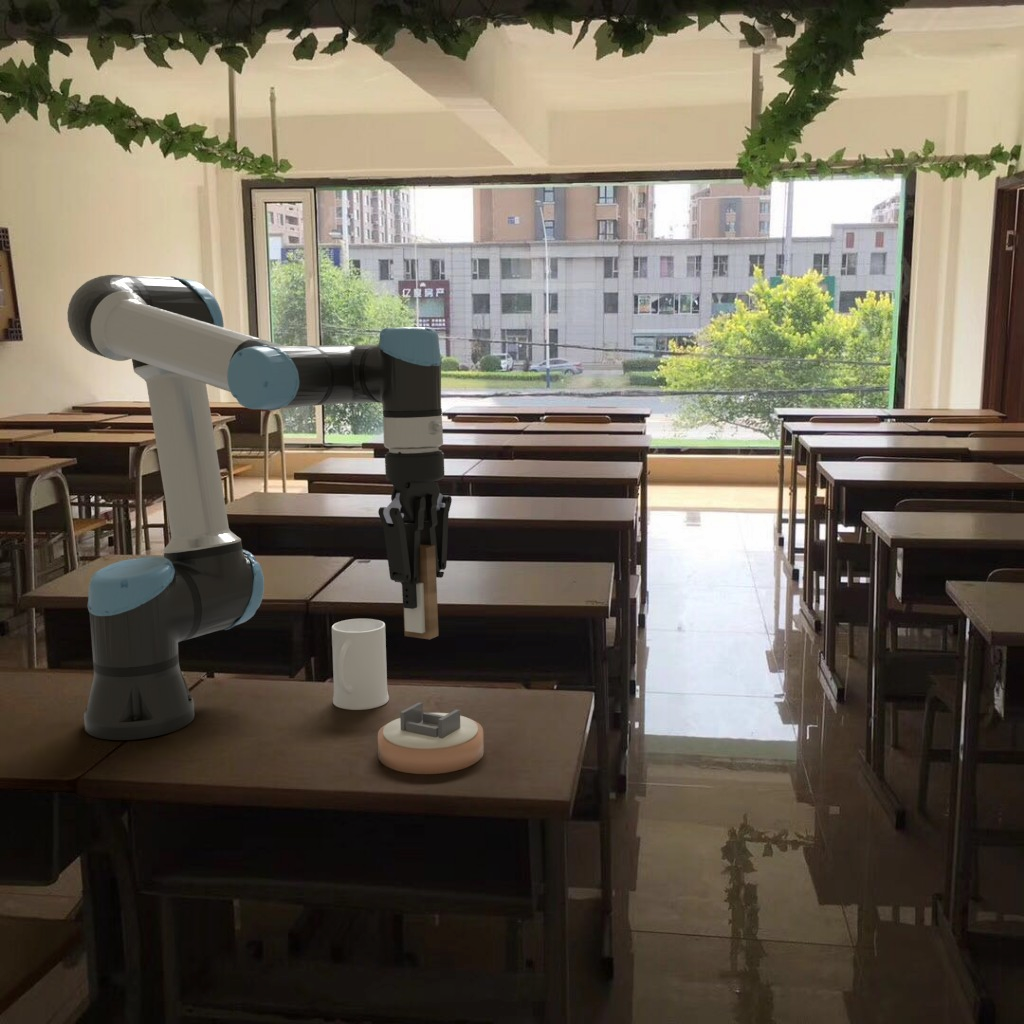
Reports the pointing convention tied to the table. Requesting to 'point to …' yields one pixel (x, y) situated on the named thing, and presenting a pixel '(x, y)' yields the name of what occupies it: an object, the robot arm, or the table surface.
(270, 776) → the table surface
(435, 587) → the tall wooden post
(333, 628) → the mug
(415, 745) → the peach disc
